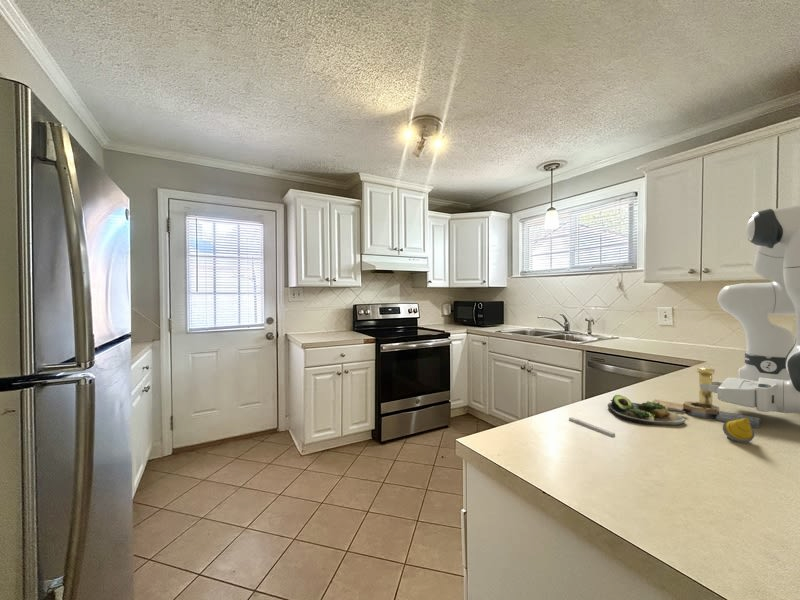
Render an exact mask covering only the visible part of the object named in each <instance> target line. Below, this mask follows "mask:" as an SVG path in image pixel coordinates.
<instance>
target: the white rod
mask: <svg viewBox="0 0 800 600" xmlns="http://www.w3.org/2000/svg"><path fill="white" fill-rule="evenodd" d="M568 421H570V422H573V423H575V424H578V425H581V426H583V427H586V428H588V429H591V430H593V431H596V432H600V433H601V434H603V435H604V434H605V435H606V436H609V437H612V438H613V437H615V436H616V433H615V432H613V431H610V430H607V429H604V428H603V427H599V426H598V425H597V426H596V425H594V424H591V423H589V422H586V421H583V420H581V419H577V418H575V417H569V418H568Z"/></svg>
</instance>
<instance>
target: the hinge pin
mask: <svg viewBox="0 0 800 600" xmlns="http://www.w3.org/2000/svg"><path fill="white" fill-rule="evenodd" d="M696 372H697V373H698V393H699V394H698V398H699V399H698V400H699V401H698V402H701V403H707V404H711V405H713V392H711V391H708V390H702V389H700V384H701V383H706V384H710V385H712V381H713V375H715V369H714V368H711V367H706V366H705V367H702V366H701V367H699V366H698V367H696Z"/></svg>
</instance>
